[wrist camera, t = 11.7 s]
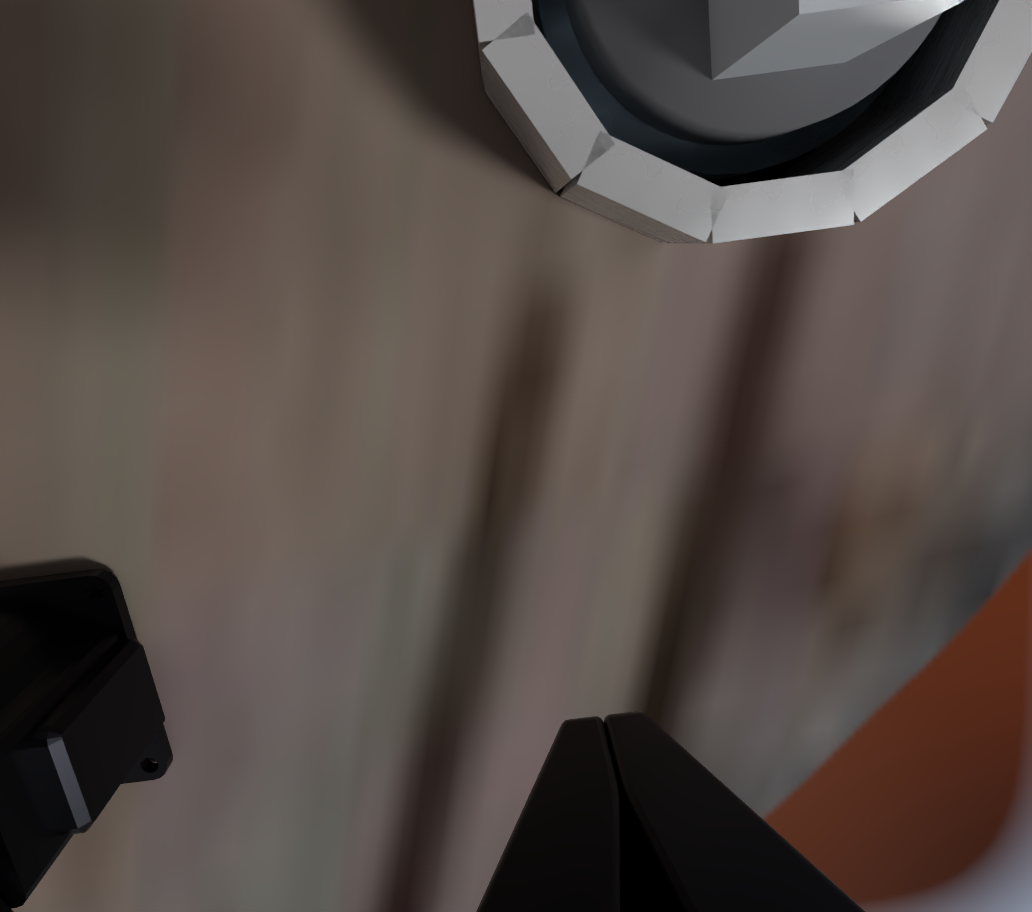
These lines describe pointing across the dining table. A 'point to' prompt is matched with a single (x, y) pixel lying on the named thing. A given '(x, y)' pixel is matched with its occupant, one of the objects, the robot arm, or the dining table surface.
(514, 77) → the faceted white dish
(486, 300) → the dining table surface
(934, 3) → the grey knob
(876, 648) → the dining table surface
